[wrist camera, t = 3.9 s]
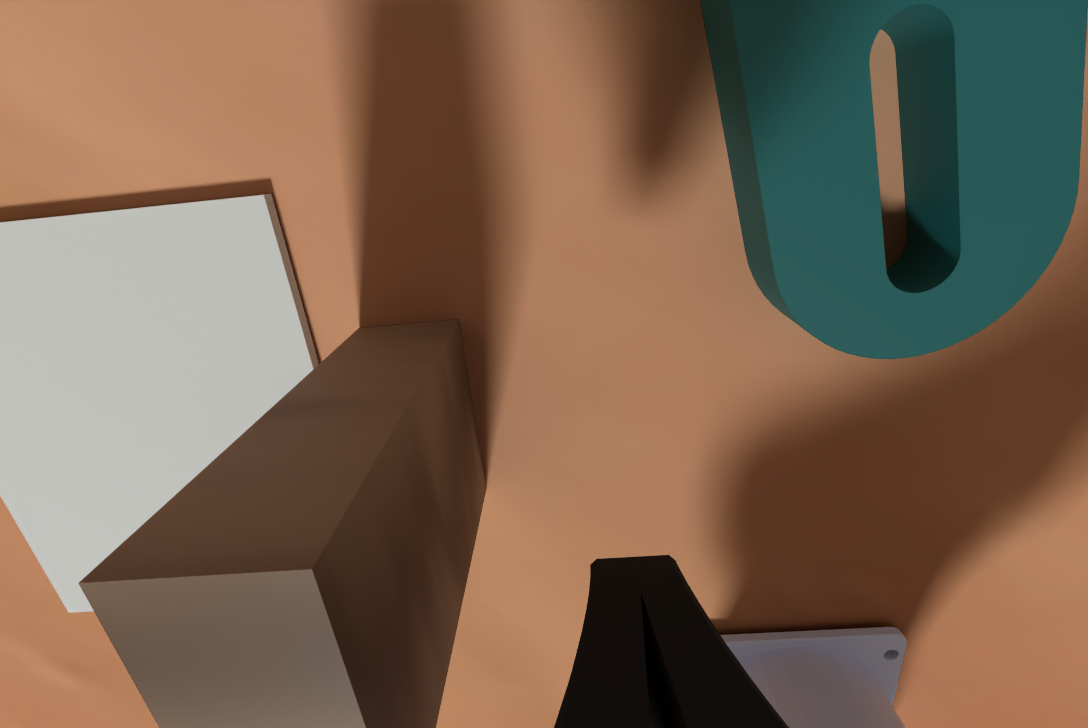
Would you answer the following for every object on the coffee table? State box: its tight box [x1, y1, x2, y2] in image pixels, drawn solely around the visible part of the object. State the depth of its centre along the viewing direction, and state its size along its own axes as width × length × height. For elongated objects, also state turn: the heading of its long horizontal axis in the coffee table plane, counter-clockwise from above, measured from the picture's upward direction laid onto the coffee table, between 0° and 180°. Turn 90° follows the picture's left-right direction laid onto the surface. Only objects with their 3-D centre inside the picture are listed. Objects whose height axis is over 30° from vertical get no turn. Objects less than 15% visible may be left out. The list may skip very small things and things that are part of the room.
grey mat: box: [0, 194, 319, 613], centre depth 17 cm, size 14×12×1 cm
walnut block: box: [78, 319, 486, 728], centre depth 12 cm, size 6×3×10 cm, turn 6°
